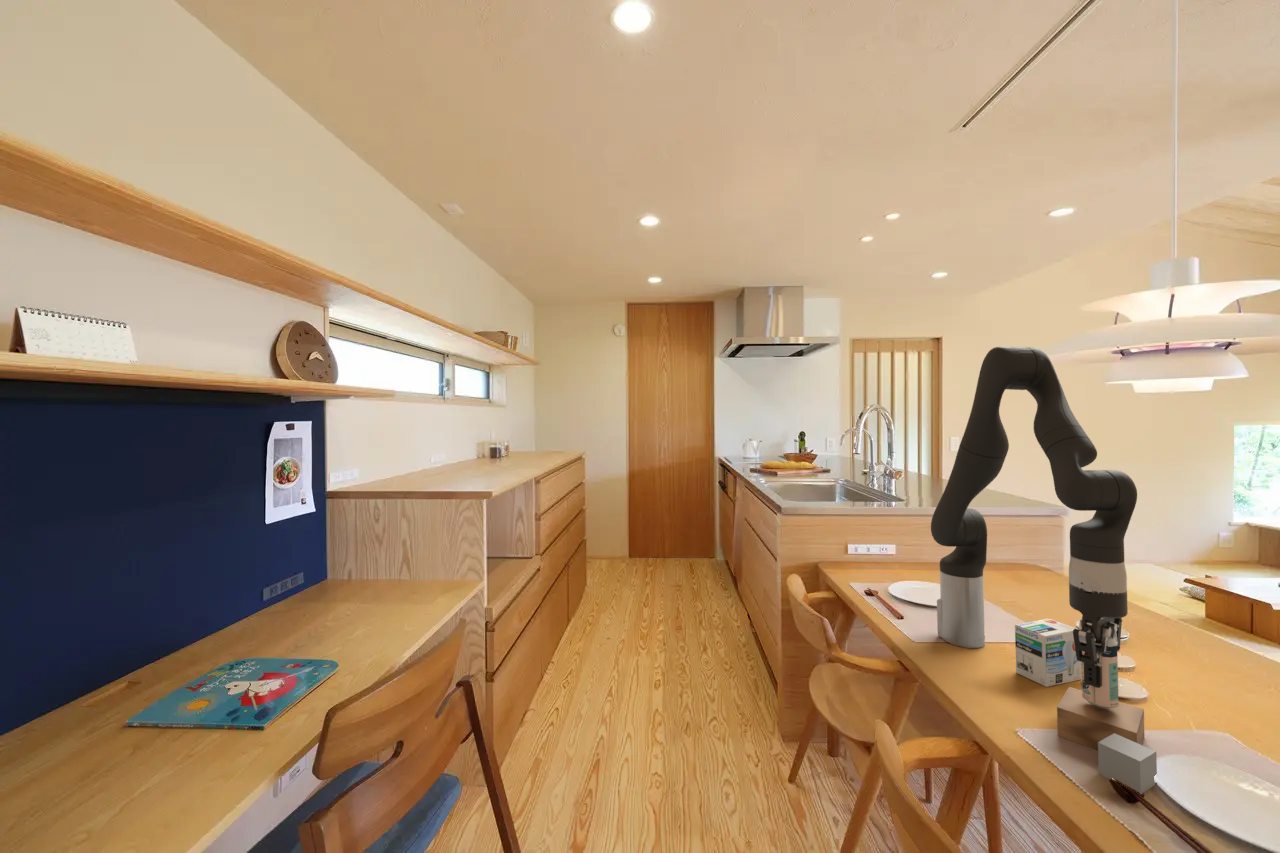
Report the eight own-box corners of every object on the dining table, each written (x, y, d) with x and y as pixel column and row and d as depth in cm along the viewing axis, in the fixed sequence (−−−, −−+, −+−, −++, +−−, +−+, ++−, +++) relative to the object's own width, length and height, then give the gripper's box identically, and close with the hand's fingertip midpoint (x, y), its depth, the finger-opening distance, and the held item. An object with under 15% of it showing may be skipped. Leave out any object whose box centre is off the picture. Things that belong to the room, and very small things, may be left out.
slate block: (1098, 773, 78) (1097, 742, 78) (1115, 764, 81) (1114, 733, 81) (1140, 794, 74) (1140, 761, 74) (1157, 784, 76) (1156, 751, 76)
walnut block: (1057, 735, 88) (1057, 707, 88) (1069, 713, 94) (1068, 686, 94) (1137, 764, 80) (1136, 733, 80) (1144, 737, 87) (1143, 708, 87)
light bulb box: (1046, 688, 103) (1045, 636, 103) (1014, 672, 110) (1013, 624, 110) (1083, 679, 106) (1082, 628, 106) (1049, 665, 113) (1048, 617, 113)
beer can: (1081, 692, 91) (1079, 626, 91) (1117, 701, 88) (1115, 633, 88) (1082, 704, 87) (1081, 635, 87) (1120, 713, 84) (1119, 642, 84)
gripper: (1086, 571, 94) (1088, 661, 94) (1052, 586, 87) (1054, 683, 87) (1141, 582, 88) (1143, 678, 88) (1109, 598, 80) (1111, 703, 80)
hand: (1099, 680), depth 87 cm, fingers closed on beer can, 4 cm apart
